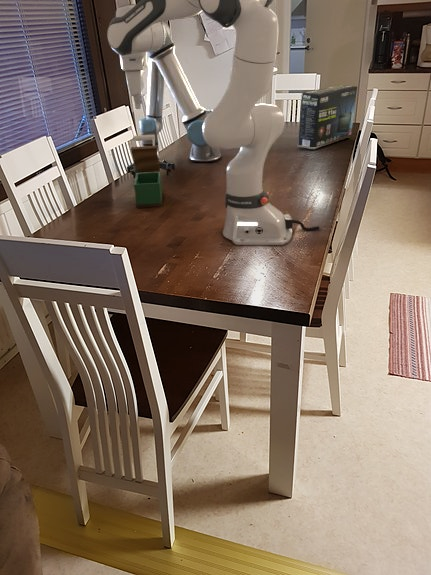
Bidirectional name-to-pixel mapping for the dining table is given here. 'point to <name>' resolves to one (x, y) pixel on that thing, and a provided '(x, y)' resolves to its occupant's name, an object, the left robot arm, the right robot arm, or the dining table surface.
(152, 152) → the lid
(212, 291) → the dining table surface
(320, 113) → the router box
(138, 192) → the green box
